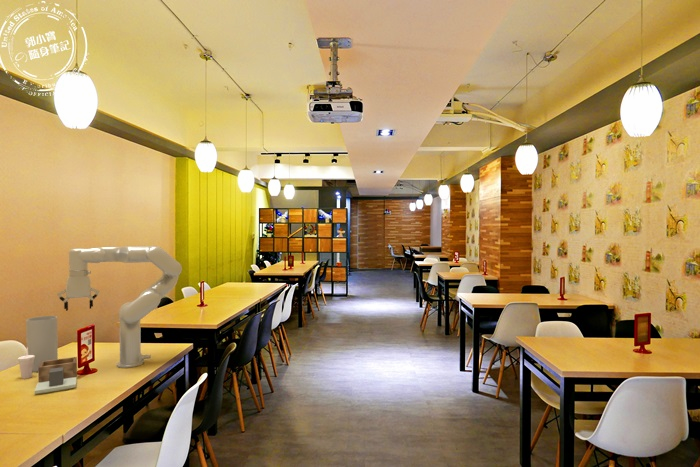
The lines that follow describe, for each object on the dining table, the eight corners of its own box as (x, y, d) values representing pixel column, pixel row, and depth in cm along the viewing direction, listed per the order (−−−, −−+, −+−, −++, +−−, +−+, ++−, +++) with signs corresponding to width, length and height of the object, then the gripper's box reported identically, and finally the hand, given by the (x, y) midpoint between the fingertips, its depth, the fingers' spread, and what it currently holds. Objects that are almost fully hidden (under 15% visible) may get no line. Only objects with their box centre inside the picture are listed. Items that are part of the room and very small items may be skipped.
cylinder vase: (55, 370, 212) (54, 319, 212) (24, 374, 206) (23, 321, 206) (59, 363, 223) (59, 315, 223) (30, 366, 217) (29, 317, 217)
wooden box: (76, 373, 206) (76, 356, 206) (76, 380, 196) (76, 362, 196) (41, 378, 199) (40, 361, 199) (38, 385, 189) (38, 367, 189)
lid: (76, 381, 195) (76, 363, 195) (75, 389, 185) (75, 370, 185) (37, 388, 187) (37, 369, 187) (34, 396, 177) (34, 376, 177)
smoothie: (25, 380, 197) (25, 349, 197) (14, 379, 198) (14, 349, 198) (38, 375, 203) (38, 346, 203) (27, 375, 204) (27, 345, 204)
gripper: (99, 272, 216) (99, 306, 216) (57, 274, 207) (57, 310, 207) (99, 273, 209) (99, 308, 209) (56, 275, 200) (56, 312, 200)
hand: (78, 309), depth 208 cm, fingers open, 9 cm apart
